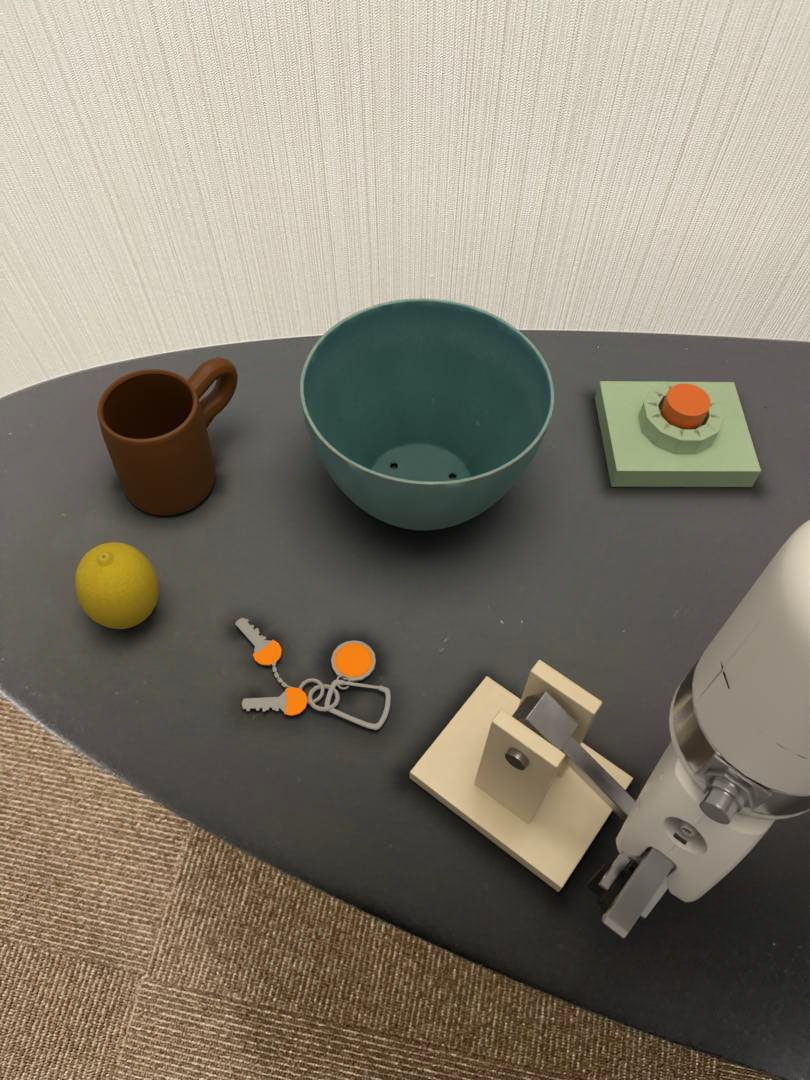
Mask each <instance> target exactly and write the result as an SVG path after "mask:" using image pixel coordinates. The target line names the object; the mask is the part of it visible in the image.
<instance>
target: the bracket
mask: <svg viewBox="0 0 810 1080" xmlns="http://www.w3.org/2000/svg"><path fill="white" fill-rule="evenodd" d="M545 691H547V692H548V693H549V694H550V695H551V696H552V697H553V698H554V699H555V700H556V701H557V702H558V703H559V704H560V705H561V706H562V707H563V708H564V709H565V710H566V711H567V712H568V713H569V714H570V715H571V716H572V717H573V718H574V719H575V720H576V721H577V722H578V723H579V726H578V727H577V729H576V730H575V731H574V733H573V734H572V737H573V738H574V739H575V740H576V741H577V742H578V743H579V744H580V745H581V746H582V747H583V748H584V749H585V750H586V751H587V752H588V753H589V754H590V755H591V756H592V757H593V758H594V759H595V760H596V761H597V762H598V763H599V764H600V765H601V766H602V767H603V768H604V769H605V770H606V771H607V772H608V773H609V774H610V775H611V776H612V777H613V778H614V779H615V780H616V781H617V782H618V783H619V784H620V785H621V786H622V787H623V788H624V789H625V790H626V791H627V789H628V788H629V786H630V784H631V783H632V781H633V780H634V777H632V776H631V775H630V774H628V773H627V772H626V771H624V770H623V769H621V768H620V767H618V766H617V765H615V764H614V763H612V761H610V760H608V759H607V758H605V757H604V756H602V755H601V754H599V753H598V752H596V750H594V749H592V748H591V747H590V746H589V745H587V744H586V743H584V742H583V741H584V739H585V738H586V736H587V734H588V732H589V730H590V728H591V726H592V724H593V722H594V721H595V719H596V717H597V715H598V713H599V711H600V709H601V707H602V705H603V701H602V700H601V699H599V698H598V697H596V696H594V695H593V694H592V693H590V692H589V691H587V690H586V689H585V688H583V687H582V686H579V685H578V684H576V682H574V681H572V680H571V679H569V678H568V677H566V676H565V675H563V674H562V673H560V672H559V671H557V670H556V669H555V668H553V667H551V666H550V665H548V664H547V663H546V662H544V661H542V660H541V659H538V660H537V662H536V663H535V664H534V665H533V666H532V668H531V669H530V671H529V674H528V677H527V679H526V683H525V686H524V689H523V692H522V694H521V698H519V697H518V696H516V695H515V694H513V693H512V692H511V691H509V690H508V689H506V688H505V687H504V686H502V685H501V684H499V683H498V682H496V681H494V680H493V679H492V678H491V677H490V676H487V675H486V676H485V677H484V679H482V681H481V682H480V683H479V685H478V686H477V687H476V688H475V690H474V691H473V692H472V694H471V695H470V696H469V697H468V698H467V700H466V701H465V702H464V703H463V704H462V706H461V707H460V708H459V710H458V711H457V712H456V713H455V715H454V716H453V717H452V719H451V720H450V721H449V722H448V723H447V725H446V726H445V727H444V728H443V729H442V731H441V732H440V733H439V734H438V736H437V737H436V738H435V740H434V741H433V742H432V743H431V745H430V746H429V747H428V748H427V749H426V751H425V752H424V753H423V754H422V756H421V757H420V758H419V759H418V761H417V762H416V763H415V765H414V766H413V767H412V769H411V770H410V771H409V776H408V777H409V779H410V780H411V781H412V782H414V783H415V784H417V785H418V786H419V787H420V788H422V789H423V790H424V791H426V792H427V793H428V794H430V795H431V796H432V797H433V798H435V800H437V801H438V802H439V803H441V804H443V805H444V806H445V807H446V808H448V809H449V810H451V812H453V813H454V814H456V815H457V816H458V817H460V818H461V819H462V820H463V821H465V822H466V823H467V824H469V825H470V826H471V827H473V828H474V829H475V830H477V831H478V832H479V833H480V834H482V835H483V836H484V837H485V838H487V839H488V840H489V841H490V842H492V843H493V844H495V845H496V846H497V847H499V848H500V849H501V850H503V851H504V852H505V853H506V854H508V856H510V857H512V858H513V859H514V860H516V861H517V862H518V863H520V864H521V865H522V866H523V867H525V868H526V869H527V870H529V871H530V872H531V873H533V874H534V875H535V876H536V877H538V878H539V879H540V880H542V881H543V882H544V883H546V884H547V885H548V886H549V887H551V888H552V889H554V890H555V891H556V892H558V893H560V892H561V890H562V889H563V888H564V886H565V885H566V884H567V881H568V880H569V878H570V877H571V875H572V873H573V872H574V870H575V869H576V868H577V866H578V864H579V863H580V861H581V860H582V858H583V857H584V855H585V853H586V852H587V851H588V849H589V847H590V846H591V844H592V843H593V841H594V840H595V838H596V837H597V835H598V834H599V832H600V831H601V829H602V828H603V826H604V824H605V823H606V822H607V820H608V818H609V816H610V815H611V813H612V812H613V810H612V809H611V808H610V807H609V806H608V805H607V804H606V803H605V802H604V801H603V800H602V799H601V798H600V797H599V796H598V795H597V794H596V793H595V792H594V791H593V790H592V789H591V788H590V787H589V786H588V785H587V784H586V783H585V782H584V781H583V780H582V779H581V778H580V777H579V776H578V775H577V774H576V773H575V772H574V771H573V770H572V769H571V768H570V767H569V766H568V765H567V764H566V763H565V762H564V761H563V760H564V758H565V754H564V753H563V752H561V751H560V750H559V749H557V748H556V747H554V746H553V745H552V744H550V743H549V742H547V741H546V740H545V739H543V738H542V737H540V736H539V735H537V734H536V733H535V732H533V731H532V730H530V729H529V728H528V727H526V726H525V725H523V724H522V723H520V722H519V721H518V720H516V719H515V718H513V717H512V715H513V714H514V713H515V711H516V710H517V709H518V707H519V706H520V705H521V703H522V702H523V701H524V700H525V698H526V697H527V696H531V695H534V694H538V693H542V692H545Z"/></svg>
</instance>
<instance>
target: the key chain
mask: <svg viewBox="0 0 810 1080" xmlns="http://www.w3.org/2000/svg"><path fill="white" fill-rule="evenodd" d="M249 622H250V620H249V618H245V617H241V618H238V619H237V620H236V621H235V622H234V625H235V626H236V627H237V628H238V629H239V631H240V632H241V633H242V634H243V635H244V636H245V637H246V639H248V641H250V643H251V644H252V645H253V646H254V648H253V653H252V657H253V660H254V661H255V663H257V664H259V665H260V666H267V667H269V666H271V667H272V668H271V669H272V673H273V676H274V678H275V679H276V681H277V682H278V684H280V686H281V687H283V688H284V691H282V693H281V694H280V695H279V696H268V697H267V696H265V697H263V696H262V697H246V698H242V702H241V706H242V709H243V710H246V712H251V710H255V712H260V711H261V710H262V713H266V712H267V711H270V709H271V710H272V711H275V712H279V711H280V710H281V712H283V715H284V716H289V717H294V716H298V715H300V714H302V712H304V710H306V708H307V705H309V706H310V707H311V708H312V709H314V710H316V711H318V712H329V713H331V714H333V715H335V716H337V717H340V718H342V719H344V720H347V721H348V722H351V723H354V724H356V725H359V726H361V727H364V728H366V729H369V730H374V731H377V730H380V729H381V728H382V727H383V725H384V724H385V722H386V720H387V718H388V716H389V713H390V711H391V710H390V709H391V700H392V695H391V694H392V693H391V690H390V688H389V687H386V686H384V685H381V684H380V685H374V684H367V683H361V682H362V681H364V680H365V679H367V678H369V676H371V675H372V673H373V672H374V670H375V667H376V663H377V659H376V653H375V651H374V650H373V649H372V647H371V646H370V645H368V644H367V643H365V642H364V641H360V640H356V639H354V640H347V641H344V642H342V643H340V644H338V646H336V648H335V649H334V651H333V652H332V655H331V657H330V663H331V669H332V671H334V674H335V675H336V676H337V677H336V679H334V680H333V681H332V682H330V684H328V683H326V684H325V683H323V682H322V681H321V680H320V679H318V678H314V677H311V678H307V679H304V680H302V682H301V683H300V685H299V686H298V687H294V686H291V685H288V684H287V683H286V682H285V681H284V680H283V678H281V677H280V675H279V672H278V669H277V664H278V662H279V660H280V659H281V658H282V652H283V649H282V647H281V645H280V643H279V642H277V641H276V640H275V639H271V640H270V639H268V638H267V637H266V636H263V634H261V633H260V629H259V628H258V627H256V628H255V625H254V624H250V623H249ZM254 628H255V629H254ZM260 634H261V635H260ZM360 681H361V682H360ZM359 682H360V683H359ZM308 683H315V684H317V685H314V686H313V687H312V688H311V689H310V690H309V691H308V693H306V692H305V691H304V690H303V687H304V686H305V685H306V684H308ZM344 685H345V687H343V686H344ZM351 686H352V687H358V688H359V687H360V688H367V689H374V690H378V691H380V692H382V693H384V695H385V702H384V708H383V711H382V714H381V716H380V719H379V720H378V721H377V722H376V723H372V722H367V721H365V720H363V719H359V718H357V717H356V716H352V715H350V714H348V713H346V712H344V711H341V710H338V709H337V708H336V707H337V706H338V705H339V703H340V700H341V696H340V692H339V691H338V690H337V689H336V687H337V688H338V689H340V690H342V691H343V690H348V689H349V688H350V687H351ZM326 689H327V693H326V696H325V695H324V694H325V690H326ZM318 690H320V692H319V694H318V696H317V697H316V698H314V699H313V695H314V693H315V692H316V691H318ZM333 695H334V700H333V703H331V700H332V697H333ZM324 696H325V700H324V705H323V706H320V705H317V704H316V703H318V702H320V701H321V699H322V698H323V697H324Z"/></svg>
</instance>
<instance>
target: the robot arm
mask: <svg viewBox="0 0 810 1080" xmlns="http://www.w3.org/2000/svg"><path fill="white" fill-rule="evenodd" d="M668 723H669V724H668V725H669V726H668V727H669V733H670V739H671V741H670V742H669V744H668V745H667V747H666V749H665V750H664V752H663V754H662V755H661V757H660V759H659V760H658V762H657V763H656V765H655V767H654V768H653V770H652V772H651V774H650V775H649V777H648V778H647V781H646V782H645V784H644V786H643V787H642V789H641V791H640V792H639V795H638V797H637V799H635V801H636V802H635V804H634V806H633V808H632V810H631V811H630V813H629V815H628V817H627V819H626V820H625V822H624V821H623V824H622V826H621V828H620V830H619V832H618V834H617V836H616V838H615V845H616V849H617V851H618V855H617V857H616V858H615V859H614V861H613V862H612V861H609V862H608V861H606V862H604V864H603V865H602V866H601V867H600V868H599V869H598V870H597V871H596V872H595V874H594V875H592V877H590V880H589V881H588V882H587V884H586V885H587V888H588V889H589V890H590V891H591V892H592V893H594V894H595V895H597V896H598V897H597V899H596V903H597V905H598V907H599V910H598V911H600V912H601V913H602V914H603V915H602V916H601V923H602V925H604V926H605V927H607V928H608V929H609V930H611V931H612V932H613V933H615V934H616V935H617V936H619V937H620V938H621V939H622V940H624V939H625V938H626V937H627V936H628V935H629V933H630V931H631V930H635V929H636V928H637V926H638V925H639V923H640V922H641V920H643V921H644V920H645V919H647V917H648V916H649V914H650V913H651V912H652V911H654V910H655V909H656V907H657V905H658V904H659V902H660V900H661V899H662V897H663V896H664V895H665V894H666V892H667V891H669V894H671V895H672V896H674V897H676V898H677V899H679V900H681V901H682V902H683V903H691V902H695V901H697V900H699V899H700V898H702V897H703V896H704V895H705V894H707V892H709V891H710V890H711V889H712V888H713V887H715V886H716V885H717V884H718V883H719V882H720V881H721V880H723V879H724V878H725V877H726V876H727V875H728V874H730V872H732V871H733V869H734V868H736V867H737V865H739V864H740V862H741V861H743V859H744V858H745V857H747V855H748V854H750V852H751V851H752V850H753V849H754V848H755V846H756V845H757V844H758V843H759V842H760V841H761V839H762V838H763V837H764V836H765V835H766V834H767V832H768V831H769V830H770V829H771V827H772V825H773V824H774V823H775V822H776V820H786V819H790V818H795V817H798V816H800V815H802V814H805V813H808V812H809V811H810V519H808V520H807V521H806V522H804V523H802V524H801V525H800V526H799V527H798V528H797V529H796V530H795V531H793V533H792V534H791V535H790V536H789V538H787V540H786V541H785V542H784V543H783V544H782V545H781V547H779V549H778V551H777V552H776V554H775V555H774V556H773V557H772V559H771V560H770V561H769V563H768V564H767V566H766V567H765V569H764V570H763V571H762V572H761V574H760V575H759V576H758V577H757V579H756V581H755V582H754V583H753V585H752V586H751V587H750V589H749V590H748V591H747V593H746V594H745V595H744V597H742V600H741V601H740V602H739V604H737V607H736V608H735V609H734V611H733V612H732V613H731V614H730V616H729V617H728V618H727V620H726V621H725V623H724V624H723V626H722V627H721V628H720V629H719V630H718V632H717V634H715V636H714V638H712V640H711V641H710V642H709V644H708V646H707V647H706V648H705V649H704V651H703V653H702V654H701V656H700V657H699V658H698V659H697V661H696V662H695V663H694V665H693V666H692V667H691V669H690V670H689V672H687V674H686V675H685V677H684V678H683V680H682V681H681V682H680V684H679V685H678V686H677V688H676V690H675V692H674V694H673V697H672V700H671V703H670V706H669V715H668ZM649 847H650V848H649ZM630 861H631V862H632V861H634V862H635V863H636V864H638V867H637V868H636V869H635V871H634V872H633V874H631V873H630V872H627V871H626V870H625V868H626V867H627V865H629V864H630V863H629V862H630Z"/></svg>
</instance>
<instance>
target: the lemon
mask: <svg viewBox="0 0 810 1080" xmlns="http://www.w3.org/2000/svg"><path fill="white" fill-rule="evenodd" d="M74 585H75V593H76V598H77V600H78V602H79V604H80V606H81V608H82V610H83V611H84V613H86V614H87V616H88V617H89V618H90V619H91V620H92V621H94V622H95V623H97V624H98V625H101V626H102V627H105V628H109V629H114V630H115V629H116V630H124V629H130V628H132V627H135V626H138V625H140V624H141V623H143V622H144V621H145V620H146V619H147V618H148V617H149V616H150V615H151V614H152V613H153V610H154V609H155V608H156V605H157V603H158V598H159V594H160V591H159V589H160V588H159V578H158V576H157V573H156V571H155V568H154V566H153V565H152V563H151V562H150V561H149V558H147V557H146V556H145V555H144V553H142V552H141V551H140V550H139V549H137V548H135V547H134V546H132V545H130V544H127V543H123V542H116V541H114V542H105V543H101V544H99V545H96V546H95V547H92V548H91V549H89V550H88V551H87V552H86V553H85V555H84V556H82V558H81V559H80V561H79V563H78V565H77V568H76V572H75V576H74Z"/></svg>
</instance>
